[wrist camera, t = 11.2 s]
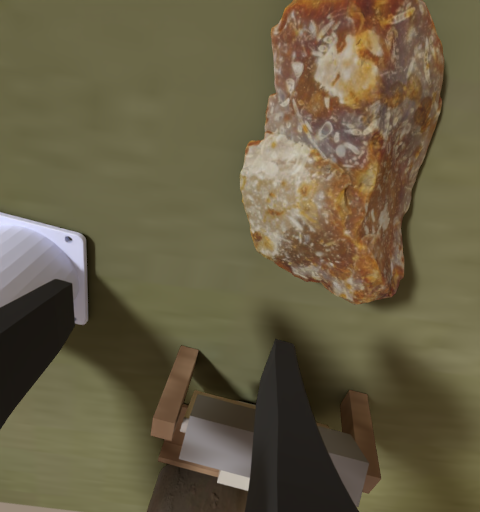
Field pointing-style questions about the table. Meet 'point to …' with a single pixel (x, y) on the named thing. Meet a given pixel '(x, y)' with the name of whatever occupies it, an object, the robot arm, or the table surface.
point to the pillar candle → (194, 493)
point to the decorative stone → (344, 141)
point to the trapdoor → (241, 441)
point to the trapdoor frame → (168, 428)
